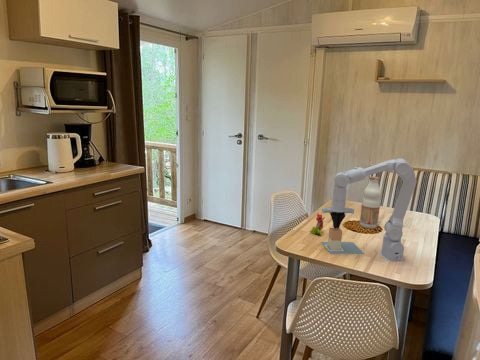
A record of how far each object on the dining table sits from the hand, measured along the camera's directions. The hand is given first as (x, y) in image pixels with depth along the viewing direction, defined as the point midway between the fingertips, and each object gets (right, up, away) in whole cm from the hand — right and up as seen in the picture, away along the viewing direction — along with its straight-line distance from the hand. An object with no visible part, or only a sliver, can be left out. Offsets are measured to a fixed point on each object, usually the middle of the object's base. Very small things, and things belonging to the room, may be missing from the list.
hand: (336, 227), depth 165 cm
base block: (0, -10, +2) cm, 10 cm away
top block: (0, -5, +1) cm, 5 cm away
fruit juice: (+28, -4, +36) cm, 46 cm away
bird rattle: (-4, -6, +21) cm, 22 cm away
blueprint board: (+4, -10, +3) cm, 11 cm away
